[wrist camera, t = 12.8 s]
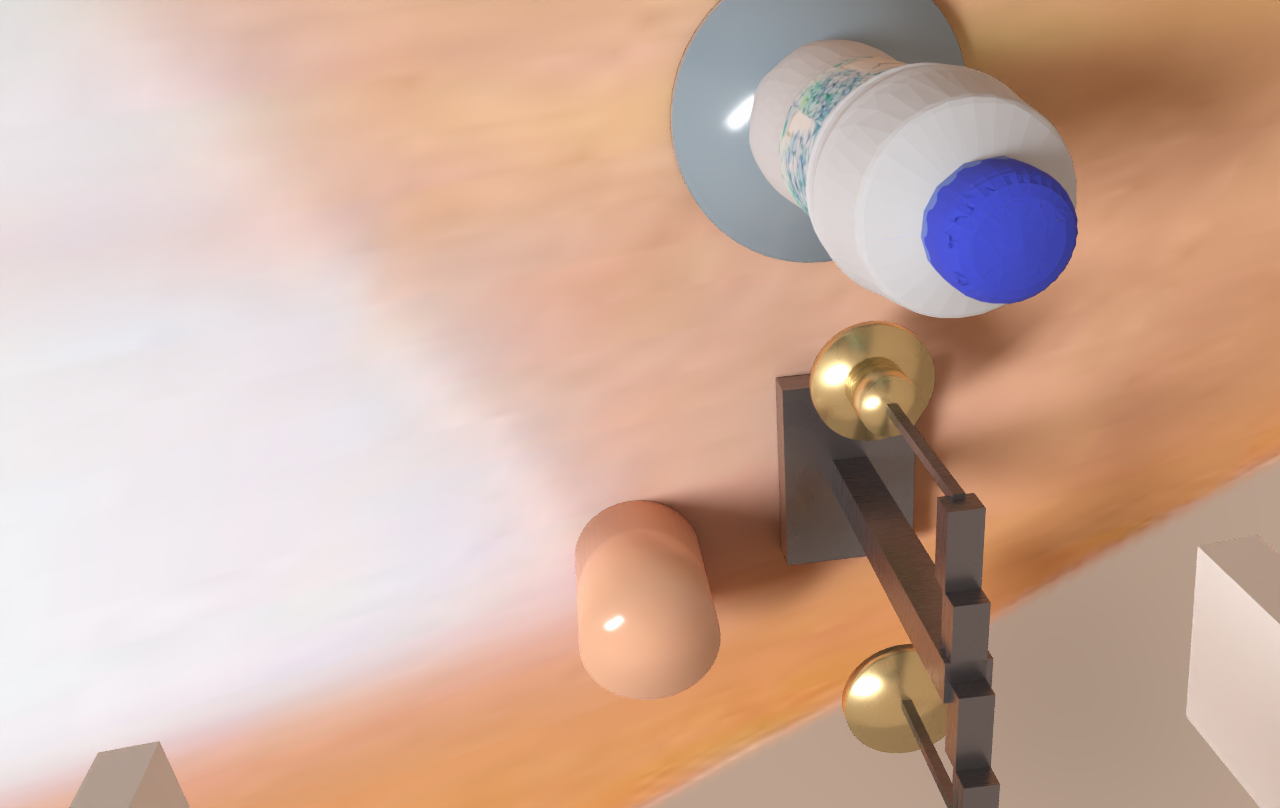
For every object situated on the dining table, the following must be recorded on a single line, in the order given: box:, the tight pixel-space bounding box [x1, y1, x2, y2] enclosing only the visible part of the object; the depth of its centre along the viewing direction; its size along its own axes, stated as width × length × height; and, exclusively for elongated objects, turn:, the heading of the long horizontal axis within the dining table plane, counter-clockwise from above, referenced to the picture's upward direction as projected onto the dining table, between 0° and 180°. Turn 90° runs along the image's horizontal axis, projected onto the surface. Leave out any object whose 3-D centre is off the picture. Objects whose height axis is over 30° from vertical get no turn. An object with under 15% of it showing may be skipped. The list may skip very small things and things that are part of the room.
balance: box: [776, 321, 1000, 808], centre depth 42 cm, size 17×6×18 cm, turn 5°
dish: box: [670, 0, 965, 263], centre depth 43 cm, size 12×12×1 cm
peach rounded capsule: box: [575, 500, 720, 700], centre depth 48 cm, size 6×6×7 cm
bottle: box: [749, 40, 1078, 318], centre depth 34 cm, size 7×7×20 cm
